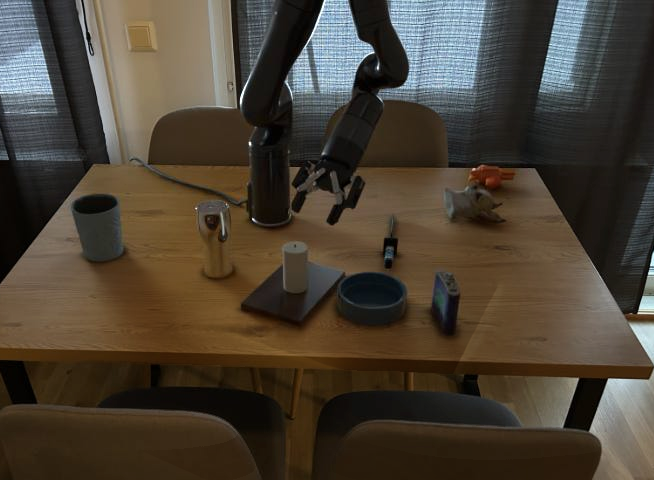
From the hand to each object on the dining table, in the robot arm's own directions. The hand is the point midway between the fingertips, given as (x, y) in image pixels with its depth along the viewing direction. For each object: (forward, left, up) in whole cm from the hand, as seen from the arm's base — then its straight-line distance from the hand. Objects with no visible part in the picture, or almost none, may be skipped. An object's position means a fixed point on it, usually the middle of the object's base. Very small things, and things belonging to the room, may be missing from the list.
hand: (311, 217), depth 125 cm
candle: (-1, -6, -13) cm, 14 cm away
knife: (+10, +20, -15) cm, 27 cm away
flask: (+29, -2, -15) cm, 32 cm away
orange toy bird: (+21, +65, -15) cm, 69 cm away
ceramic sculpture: (+22, +43, -15) cm, 51 cm away
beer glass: (-19, -6, -15) cm, 25 cm away
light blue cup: (-46, -11, -15) cm, 50 cm away
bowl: (+15, -3, -14) cm, 21 cm away
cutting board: (-1, -6, -14) cm, 16 cm away
